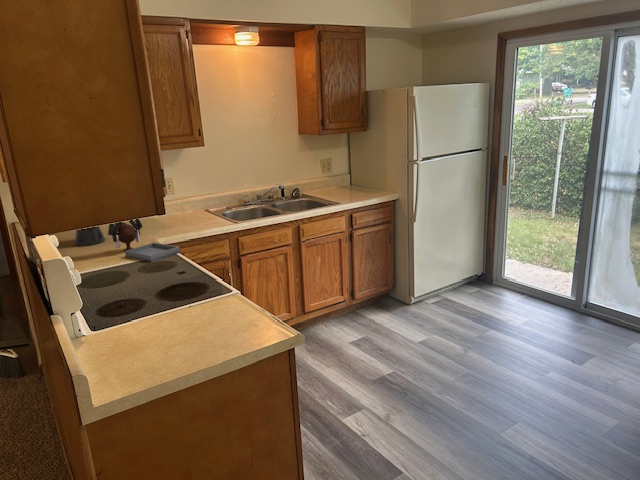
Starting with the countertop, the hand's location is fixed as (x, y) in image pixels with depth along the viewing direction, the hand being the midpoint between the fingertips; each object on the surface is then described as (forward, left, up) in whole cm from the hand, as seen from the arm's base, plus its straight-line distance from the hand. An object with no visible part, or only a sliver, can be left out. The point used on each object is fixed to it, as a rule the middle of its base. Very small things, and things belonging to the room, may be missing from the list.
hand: (128, 244), depth 246 cm
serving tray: (+17, +8, -3) cm, 19 cm away
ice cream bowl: (0, 0, -3) cm, 3 cm away
